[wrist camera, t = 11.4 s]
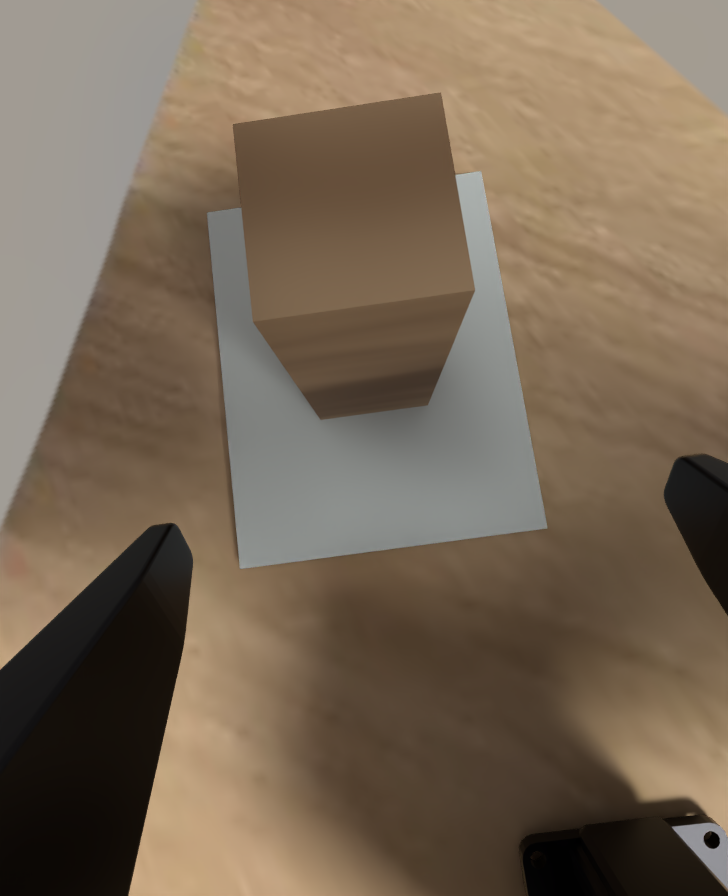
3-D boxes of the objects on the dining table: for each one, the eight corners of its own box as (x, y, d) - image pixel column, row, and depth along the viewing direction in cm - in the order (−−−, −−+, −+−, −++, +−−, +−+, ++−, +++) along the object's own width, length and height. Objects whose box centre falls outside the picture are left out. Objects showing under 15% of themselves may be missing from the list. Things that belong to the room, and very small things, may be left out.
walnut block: (427, 405, 17) (475, 289, 8) (320, 419, 17) (252, 321, 8) (412, 303, 18) (441, 92, 9) (308, 318, 18) (232, 125, 9)
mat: (542, 528, 17) (547, 528, 16) (244, 567, 17) (239, 569, 17) (478, 179, 19) (481, 170, 18) (211, 220, 19) (206, 212, 19)
